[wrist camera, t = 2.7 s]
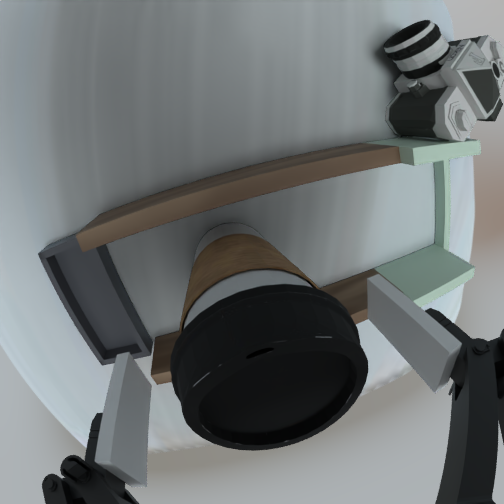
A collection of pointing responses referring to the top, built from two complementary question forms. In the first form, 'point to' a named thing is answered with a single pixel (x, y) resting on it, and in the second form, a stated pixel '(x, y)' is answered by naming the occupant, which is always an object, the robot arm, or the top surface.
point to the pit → (96, 300)
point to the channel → (233, 190)
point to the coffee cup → (261, 347)
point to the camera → (443, 82)
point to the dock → (437, 255)
